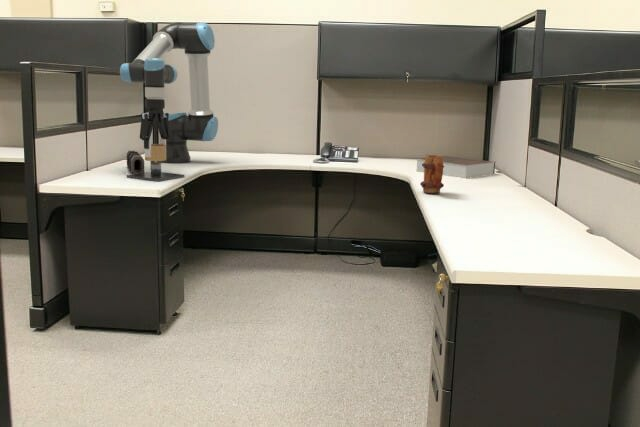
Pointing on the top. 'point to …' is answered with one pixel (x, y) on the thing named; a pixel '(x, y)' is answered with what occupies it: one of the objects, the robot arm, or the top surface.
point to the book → (462, 167)
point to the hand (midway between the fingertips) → (155, 156)
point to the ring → (157, 153)
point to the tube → (135, 162)
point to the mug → (432, 174)
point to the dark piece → (155, 174)
